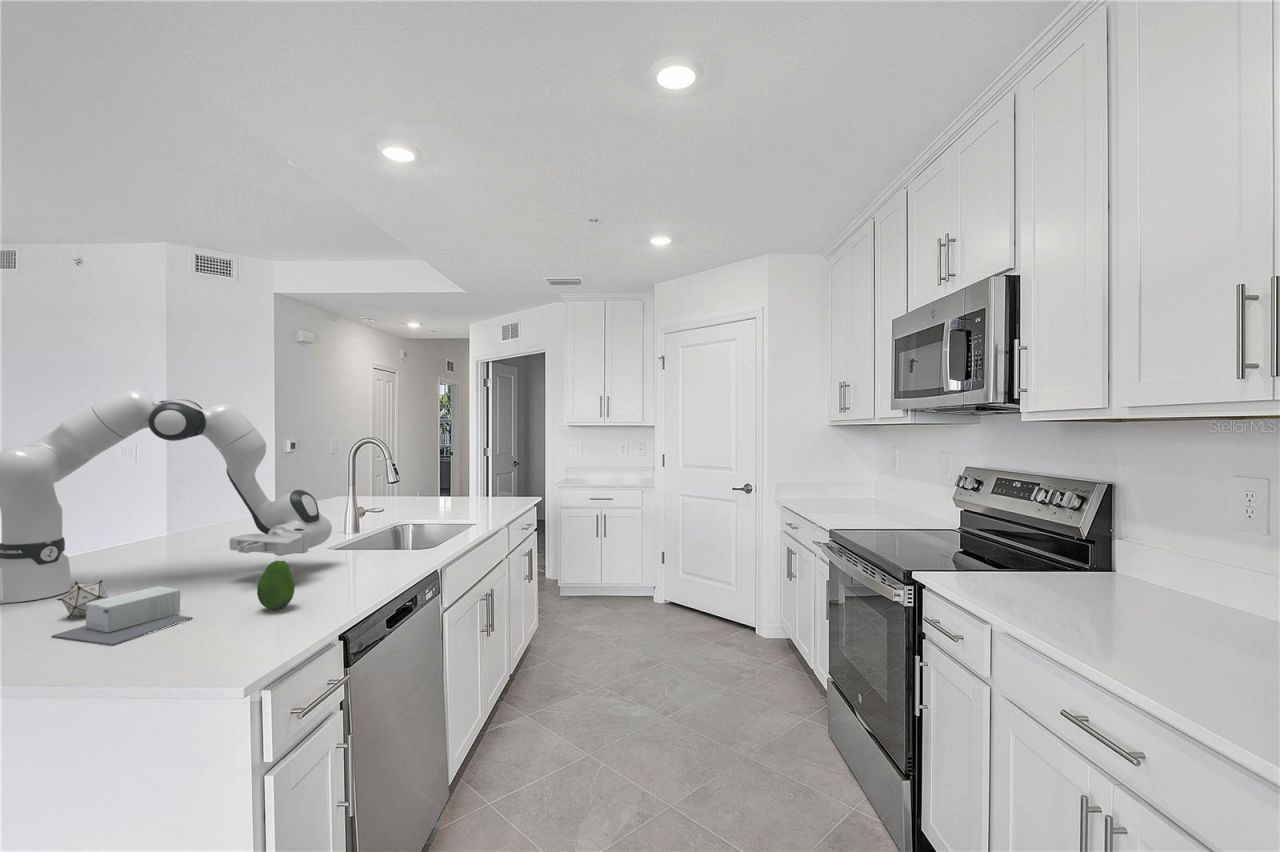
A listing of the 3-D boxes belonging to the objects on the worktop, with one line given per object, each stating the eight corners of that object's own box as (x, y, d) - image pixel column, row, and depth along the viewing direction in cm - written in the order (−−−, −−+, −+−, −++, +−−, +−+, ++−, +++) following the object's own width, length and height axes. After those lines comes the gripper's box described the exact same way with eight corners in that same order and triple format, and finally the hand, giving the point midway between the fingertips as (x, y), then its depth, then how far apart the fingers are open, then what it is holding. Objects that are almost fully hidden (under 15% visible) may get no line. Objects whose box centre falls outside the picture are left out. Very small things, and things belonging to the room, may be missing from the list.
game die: (85, 633, 139) (69, 607, 133) (58, 617, 140) (42, 591, 134) (125, 605, 146) (112, 579, 140) (99, 590, 147) (85, 564, 141)
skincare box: (160, 608, 145) (84, 629, 131) (159, 584, 145) (83, 602, 131) (182, 613, 142) (106, 635, 128) (181, 588, 141) (105, 607, 128)
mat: (51, 637, 126) (51, 635, 126) (135, 612, 143) (135, 610, 143) (113, 645, 123) (113, 643, 123) (192, 619, 139) (192, 617, 139)
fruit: (250, 615, 142) (250, 565, 142) (265, 604, 150) (266, 557, 150) (286, 614, 144) (286, 564, 143) (299, 603, 151) (300, 556, 151)
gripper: (254, 526, 177) (211, 535, 164) (312, 530, 172) (273, 540, 159) (254, 548, 177) (211, 558, 164) (312, 552, 172) (273, 563, 159)
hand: (242, 549), depth 161 cm, fingers closed
